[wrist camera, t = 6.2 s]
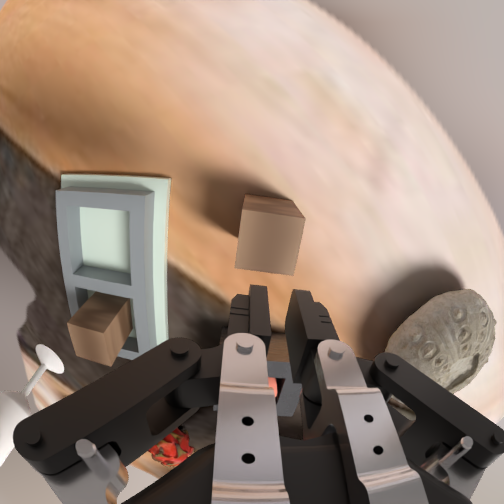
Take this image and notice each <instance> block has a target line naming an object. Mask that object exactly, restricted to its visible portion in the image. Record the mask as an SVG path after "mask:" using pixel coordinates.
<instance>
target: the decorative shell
mask: <svg viewBox="0 0 504 504" xmlns="http://www.w3.org/2000/svg"><path fill="white" fill-rule="evenodd" d="M495 324H496V320H495V319H494V316H493V313H492V311H491V310H490V308H489V306H488V305H487V303H486V301H485V300H484V299H483V298H482V296H480V295H479V294H477V293H476V292H475V291H474V290H471V289H462V290H456V291H449V292H446V293H443V294H441V295H438V296H435V297H433V298H432V299H430V300H429V301H428V302H427V303H426V304H424V305H423V306H421V307H420V308H419V309H418V310H417V311H416V312H414V313H413V314H412V315H411V316H409V317H408V318H407V319H406V320H405V321H404V322H403V323H402V324H401V325H400V326H399V328H398V329H397V330H396V331H395V332H394V333H393V334H392V336H391V337H390V339H389V341H388V345H387V347H386V349H385V352H389V353H393V354H396V355H398V356H399V357H401V358H402V359H404V360H405V361H407V362H408V363H409V364H411V365H412V366H414V367H415V368H416V369H418V370H419V371H421V372H422V373H424V374H425V375H426V376H428V377H429V378H431V379H432V380H433V381H435V382H436V383H438V384H439V385H441V386H442V387H443V388H445V389H446V390H448V391H449V392H451V393H452V394H454V393H455V392H457V391H460V390H461V389H462V388H464V387H465V386H467V385H468V384H469V383H470V382H471V381H472V380H473V379H474V378H475V377H476V375H477V374H478V373H479V371H480V370H481V368H482V367H483V366H484V364H485V363H487V362H488V357H489V355H490V354H491V351H492V347H493V344H494V340H495V327H494V326H495ZM391 398H393V399H395V400H397V401H398V402H401V401H400V400H399V399H397V398H396V397H395V396H394V395H392V396H391ZM401 403H403V402H401ZM403 404H404V403H403Z"/></svg>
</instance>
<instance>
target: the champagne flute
mask: <svg viewBox="0 0 504 504" xmlns="http://www.w3.org/2000/svg"><path fill="white" fill-rule="evenodd" d="M36 353H37V356H38V358H39V360H40V362H41V366H40V367H39V368H38V370H37V371H36V372H35V374H34V375H33V376H32V378H31V379H30V381H29V382H28V383H27V385H26V386H25V388H24V389H23V391H22V392H21V393H20V392H18V391H2V392H0V466H1V465H2V464H3V462H4V460H5V459H6V458H7V456H8V454H9V453H10V452H11V450H12V449H13V448H14V443H13V432H14V429H15V427H16V425H17V424H18V423H19V422H20V421H22V420H23V419H25V418H27V417H29V416H31V411H30V407H29V404H28V400H27V398H26V397H27V396H28V394H29V393H30V391H31V390H32V389H33V387H34V386H35V384H36V383H37V381H38V380H39V379H40V377H41V376H42V374H43V373H44V372H45V370H46V369H48V370H51V371H53V372H55V373H63V372H64V366H63V363H62V361H61V360H60V358H59V357H58V356H57V355H56V354H55V353H54V352H53V351H52V350H51V349H50V348H48V347H47V346H45V345H42V344H38V345H37V346H36Z"/></svg>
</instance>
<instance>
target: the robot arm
mask: <svg viewBox="0 0 504 504" xmlns="http://www.w3.org/2000/svg"><path fill="white" fill-rule="evenodd" d="M285 335H286V341H287V347H288V354H289V360H290V367H291V374H292V380H293V383H297V384H302V390H301V393H300V395H299V401H300V409H301V417H302V425H303V440H298V439H293V438H288V437H283V436H279V430H278V421H277V411H276V402H275V393H274V389H273V388H272V387H269V383H268V372H267V361H266V358H267V354H268V350H269V345H270V341H271V325H270V314H269V303H268V292H267V286H260V285H251V284H250V289H249V295H242V294H237V295H236V296H235V297H234V298H233V299H232V302H231V309H230V317H229V325H228V333H227V338H226V339H225V341H224V343H222V344H221V345H219V346H217V347H214V348H209V349H200V347H199V345H198V344H197V343H195V342H194V341H192V340H189V339H186V338H171V339H168V340H166V341H164V342H162V343H161V344H159V345H157V346H156V347H154V348H152V349H150V350H149V351H147V352H145V353H144V354H142V355H140V356H138V357H137V358H135V359H133V360H132V361H130V362H128V363H126V364H125V365H123V366H121V367H119V368H118V369H116V370H114V371H112V372H111V373H109V374H107V375H105V376H103V377H102V378H100V379H98V380H96V381H95V382H93V383H91V384H89V385H87V386H85V387H84V388H82V389H80V390H78V391H76V392H75V393H73V394H71V395H69V396H67V397H65V398H63V399H62V400H60V401H58V402H56V403H54V404H52V405H50V406H48V407H46V408H44V409H43V410H41V411H39V412H37V413H35V414H33V415H31V416H29V417H27V418H25V419H23V420H22V421H20V422H19V423H18V424H17V425H16V427H15V429H14V432H13V443H14V446H15V448H16V450H17V451H18V453H20V455H21V456H22V457H23V458H24V459H25V460H26V461H28V462H29V463H30V465H31V466H32V467H33V468H34V469H35V470H36V471H37V472H38V473H39V474H40V475H41V476H43V477H44V478H45V480H46V481H47V483H48V484H49V486H50V487H51V489H52V490H53V491H54V493H55V494H56V495H57V497H58V498H59V499H60V501H61V502H62V503H63V504H117V497H118V495H119V493H120V492H121V491H122V490H123V489H124V488H125V487H126V485H127V483H128V472H127V469H126V468H125V467H126V466H128V465H129V464H130V463H132V462H133V461H135V460H136V459H137V458H139V457H140V456H141V455H143V454H144V453H145V452H147V451H148V450H149V449H151V448H152V447H153V446H155V445H156V444H157V443H159V442H160V441H161V440H162V439H164V438H165V437H166V436H167V435H169V434H170V433H171V432H172V431H174V430H175V429H176V428H177V427H179V426H180V425H181V424H182V423H183V422H185V421H186V420H187V419H188V418H190V417H191V416H192V415H193V414H194V413H195V412H197V410H198V409H199V407H204V406H212V405H218V414H217V427H216V439H215V443H214V444H211V445H208V446H206V447H204V448H202V449H200V450H198V451H197V452H195V453H194V454H192V455H191V456H189V457H188V458H187V459H186V460H184V461H183V462H182V463H180V464H179V465H178V466H176V467H175V468H174V469H172V470H171V471H170V472H168V473H167V474H165V475H164V476H163V477H161V478H160V479H158V480H157V481H155V483H153V484H151V485H150V486H148V487H147V488H145V489H144V490H142V491H141V492H139V493H137V494H136V495H135V496H133V497H131V498H130V499H128V500H126V501H125V502H123V503H121V504H472V502H471V501H470V498H471V496H472V494H473V493H474V491H475V489H476V487H477V485H478V483H479V481H480V479H481V477H482V475H483V473H484V471H485V469H486V468H487V467H488V466H489V465H491V464H492V463H493V462H494V461H495V460H496V459H497V458H499V457H500V456H501V455H502V454H503V453H504V430H503V429H501V428H500V427H499V426H497V425H496V424H495V423H493V422H492V421H490V420H489V419H487V418H486V417H485V416H483V415H482V414H480V413H479V412H478V411H476V410H475V409H473V408H472V407H470V406H469V405H468V404H466V403H465V402H463V401H462V400H460V399H459V398H458V397H456V396H455V395H453V394H452V393H451V392H449V391H448V390H446V389H445V388H443V387H442V386H441V385H439V384H438V383H436V382H435V381H433V380H432V379H431V378H429V377H428V376H426V375H425V374H424V373H422V372H421V371H419V370H418V369H416V368H415V367H414V366H412V365H411V364H409V363H408V362H407V361H405V360H404V359H402V358H401V357H399V356H398V355H396V354H393V353H389V352H383V353H379V354H378V355H377V356H376V357H375V359H374V361H370V360H366V359H361V358H358V357H355V354H354V352H353V350H352V348H351V347H350V346H348V345H347V344H346V343H344V342H341V341H340V340H339V338H338V335H337V333H336V330H335V328H334V325H333V323H332V320H331V318H330V316H329V313H328V311H327V309H326V308H325V307H324V306H323V305H322V304H321V303H320V302H314V300H313V298H312V295H311V292H310V291H306V290H296V289H293V291H292V294H291V298H290V303H289V307H288V311H287V316H286V320H285ZM392 395H394V396H395V397H396V398H397V399H399V400H400V401H401V402H403V403H404V404H405V405H407V406H408V407H409V408H410V409H412V410H413V411H414V412H415V414H416V420H414V421H411V420H409V419H407V418H406V417H404V416H403V415H402V414H401V413H399V412H398V411H397V410H396V409H394V408H393V407H392V406H390V405H389V404H388V403H387V402H388V401H389V399H390V398H391V396H392Z"/></svg>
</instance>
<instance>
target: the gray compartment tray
mask: <svg viewBox="0 0 504 504" xmlns="http://www.w3.org/2000/svg"><path fill="white" fill-rule="evenodd" d="M170 186H171V178H162V177H147V176H131V175H108V174H63V175H61V189H59V190H56V214H57V228H58V239H59V249H60V257H61V264H62V271H63V277H64V283H65V288H66V294H67V299H68V304H69V308H70V313H71V317H72V316H73V315H74V314H75V313H76V312H77V311H78V310H79V309H80V308H81V306H82V305H83V304H84V303H85V302H86V301H87V300H88V299H89V298H90V297H91V296H92V295H93V294H94V292H95V291H97V292H101V293H106V294H111V295H116V296H121V297H126V298H130V305H131V315H132V323H133V329H132V331H131V333H130V335H129V336H128V338H127V340H126V341H125V343H124V345H123V347H122V348H121V350H120V352H119V354H118V355H117V356H118V357H122V358H126V359H130V360H133V359H135V358H137V357H138V356H140V355H142V354H144V353H145V352H147V351H149V350H150V349H152V348H154V347H156V346H157V345H159V344H161V343H162V342H164V341H166V340H168V315H167V244H168V218H169V201H170Z"/></svg>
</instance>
